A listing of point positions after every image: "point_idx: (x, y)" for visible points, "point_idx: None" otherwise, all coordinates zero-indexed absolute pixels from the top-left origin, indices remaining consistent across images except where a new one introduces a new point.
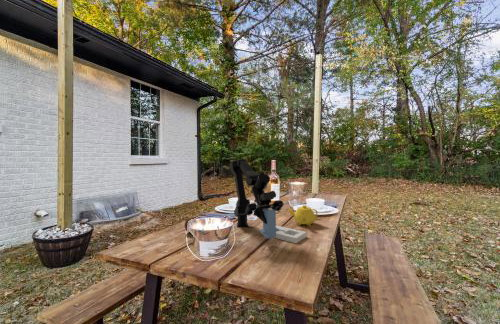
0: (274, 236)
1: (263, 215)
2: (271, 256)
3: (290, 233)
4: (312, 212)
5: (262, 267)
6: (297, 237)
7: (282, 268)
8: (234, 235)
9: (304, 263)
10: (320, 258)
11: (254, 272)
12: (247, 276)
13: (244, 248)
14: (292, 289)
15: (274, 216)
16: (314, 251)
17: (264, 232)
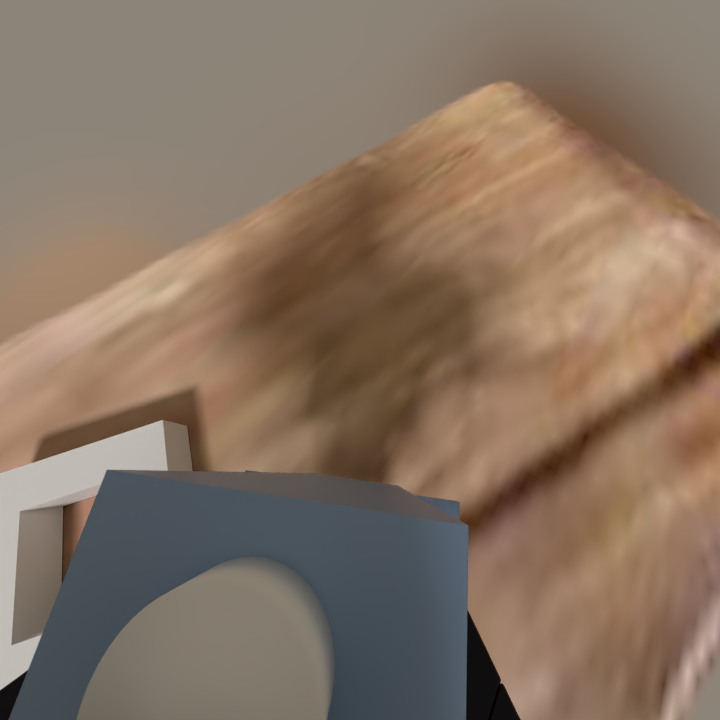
0: (326, 475)
1: (471, 706)
2: (449, 356)
3: (46, 608)
4: None
5: (557, 283)
6: (138, 428)
7: (470, 235)
8: None
9: (352, 224)
10: (255, 224)
11: (614, 265)
12: (659, 253)
13: (571, 584)
14: (520, 129)
15: (249, 477)
16: (208, 286)
17: (441, 500)
